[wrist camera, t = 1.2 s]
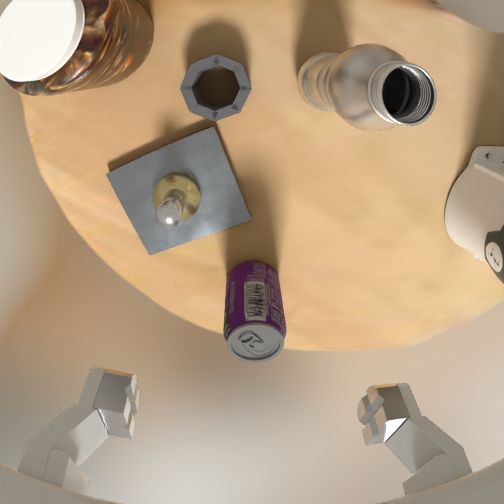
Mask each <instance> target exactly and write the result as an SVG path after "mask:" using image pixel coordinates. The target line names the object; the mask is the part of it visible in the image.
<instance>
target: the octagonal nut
mask: <svg viewBox="0 0 504 504" xmlns="http://www.w3.org/2000/svg"><path fill="white" fill-rule="evenodd" d="M217 66H221V67H224V68H226V69H229V70H231V71H234V73H235V76H236V78H237V81H238V83H239V86H240V90H239V92H238V94H237V96H236V98H235V100H234V102H231V103H228V104H225V105H223V106H220V107H216V106H214V105H211V104H209V103H206V102H204V101H202V98H201V96H200V94H199V91H198V89H197V85H198V82H199V80H200V78H201V76H202V74H203V72H204V71H207V70H209V69H212V68H215V67H217ZM180 88H181V89H180V90H181V92H182V94H183V97H184V99H185V102H186V104H187V106H188V109H189V111H191V112H192V113H194V114H197V115H199V116H202V117H204V118H207V119H209V120H212V121H214V120H215V121H218V120H220V119H223V118H226V117H228V116H231V115H234V114H237V113H239V111H241V109H242V107H243V105H244V103H245V101H246V99H247V97H248V95H249V93H250V91H251V85H250V83H249V80H248V77H247V75H246V72H245V70H244V67H243V65H242V64H241V63H238V62H236V61H233V60H231V59H229V58H226V57H224V56H221V55H218V54H215V55H213V56H210V57H207V58H205V59H202V60H200V61H197V62H195V63H192V65H190V67H189V69H188V71H187V73H186V76H185V78H184V80H183V82H182V85H181V87H180Z"/></svg>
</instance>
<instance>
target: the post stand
mask: <svg viewBox="0 0 504 504" xmlns="http://www.w3.org/2000/svg"><path fill="white" fill-rule="evenodd" d="M106 175H107V177H108V179H109V181H110V183H111V185H112V187H113V189H114V191H115V193H116V195H117V197H118V199H119V200H120V202H121V204H122V206H123V208H124V210H125V212H126V214H127V215H128V217H129V219H130V221H131V223H132V225H133V227H134V228H135V230H136V232H137V234H138V236H139V237H140V239H141V241H142V243H143V244H144V246H145V248H146V250H147V251H148V253H149V255H152V254H155V253H158V252H161V251H164V250H166V249H169V248H172V247H175V246H178V245H181V244H184V243H186V242H189V241H192V240H195V239H198V238H201V237H204V236H207V235H210V234H213V233H215V232H218V231H221V230H224V229H227V228H230V227H233V226H236V225H239V224H242V223H245V222H248V221H251V215H250V213H249V210H248V208H247V205H246V203H245V200H244V198H243V195H242V193H241V190H240V187H239V185H238V182H237V180H236V177H235V175H234V172H233V170H232V168H231V165H230V163H229V160H228V158H227V155H226V153H225V150H224V148H223V145H222V143H221V140H220V138H219V135H218V133H217V130H216V128H215V125H214V126H211V127H209V128H206V129H204V130H201V131H199V132H196V133H194V134H191V135H189V136H186V137H184V138H182V139H179V140H177V141H174V142H172V143H170V144H167V145H165V146H163V147H161V148H158V149H156V150H154V151H152V152H149V153H147V154H145V155H143V156H141V157H139V158H136V159H134V160H132V161H130V162H128V163H126V164H124V165H122V166H120V167H118V168H116V169H114V170H112V171H110V172H108V173H107V174H106Z"/></svg>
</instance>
